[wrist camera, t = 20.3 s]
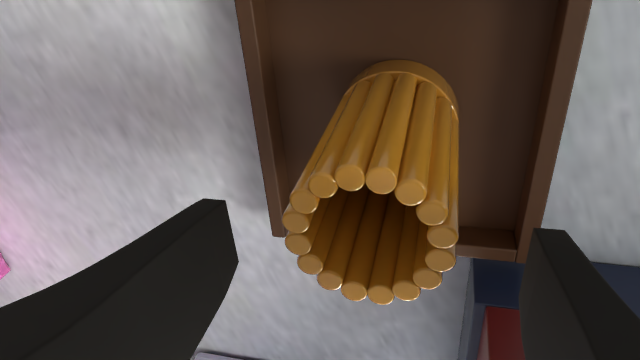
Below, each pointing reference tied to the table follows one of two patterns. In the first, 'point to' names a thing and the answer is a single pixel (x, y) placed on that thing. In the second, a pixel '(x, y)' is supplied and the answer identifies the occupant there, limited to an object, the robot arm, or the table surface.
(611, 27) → the table surface
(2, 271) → the gum box
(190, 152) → the table surface
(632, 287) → the books
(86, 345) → the robot arm
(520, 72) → the tray
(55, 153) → the table surface
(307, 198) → the hollow dowel bundle
